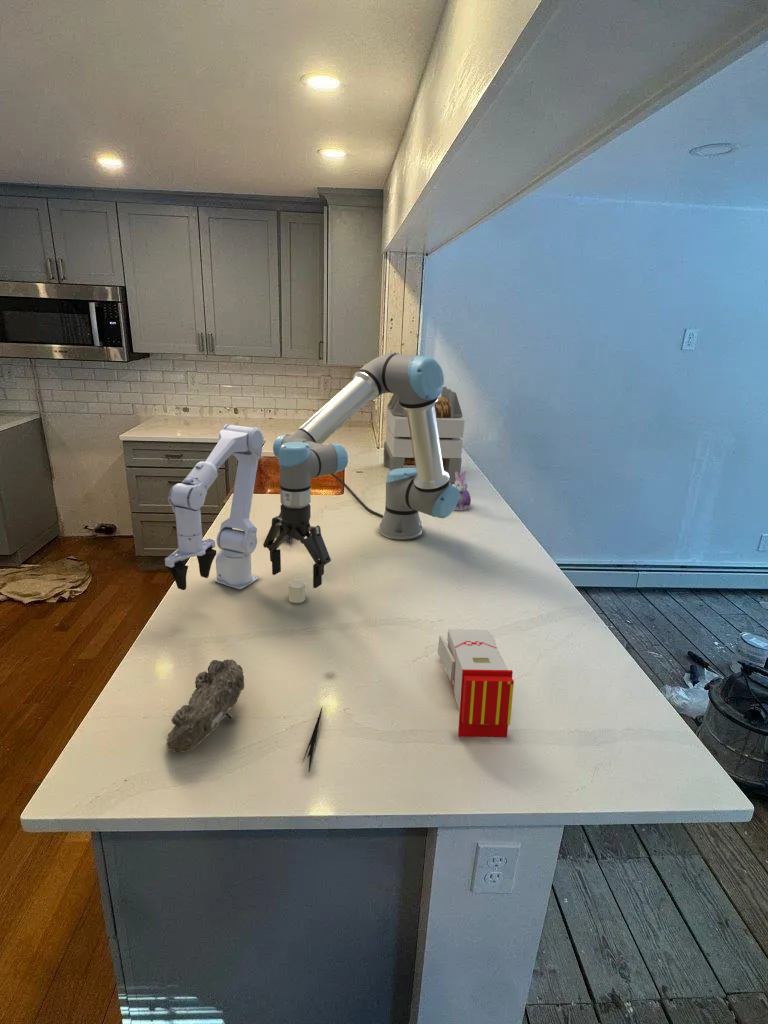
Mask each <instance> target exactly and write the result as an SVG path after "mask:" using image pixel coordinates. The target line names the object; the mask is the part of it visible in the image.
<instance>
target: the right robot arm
mask: <svg viewBox="0 0 768 1024" xmlns="http://www.w3.org/2000/svg"><path fill="white" fill-rule="evenodd" d="M444 385H445V374H444V371H443V368H442V366H441V364H440V363H439V362H438V361H437V360H436V359H434V358H432V357H428V356H425V355H423V354H421V355H419V354H418V355H413V354H405V353H398V352H388V353H385V354H381V355H380V356H378V357H376V358H373V359H372V360H371V361H369V362H368V363H366V364H364V365H363V366H362V367H361V368H359V370H357V371H356V372H355V373H354V374H353V375H352V380H351V381H350V382H349V383H348V384H346V385H345V386H344V387H343V388H342V389H341V390H340V391H339V392H337V394H335V396H333V397H332V398H331V399H330V400H329V401H327V402H326V403H325V405H323V406H322V407H321V408H320V409H319V410H317V412H315V413H314V414H313V415H312V416H311V417H310V418H308V419H307V420H306V421H305V422H304V423H303V424H302V425H301V426H300V427H299V428H297V429H296V430H295V431H294V432H293V433H291V434H289V433H288V434H280V435H278V437H276V438H275V440H274V442H273V445H272V452H273V454H274V457H275V458H276V459H277V460H278V467H279V469H278V470H279V495H280V497H279V498H280V512H281V516H280V515H279V514H278V515H276V516H274V517H272V518H271V526H270V528H269V530H268V533H267V535H266V537H265V538H264V539H265V540H264V541H263V543H262V546H263V548H264V549H265V548H266V549H268V551H269V561H270V562H271V574H272V575H273V576H275V575H277V574H279V573H281V572H282V561H281V554H282V553H281V549H280V546H281V545H282V544H283V543H284V542H285V540H287V539H286V538H287V537H288V536H289V538H291V539H294V540H295V541H299V542H300V543H301V544H302V545H303V546H304V547H305V549H306V551H307V552H308V554H309V555H310V557H311V558H312V560H313V562H314V564H312V588H314V589H317V588H318V587H320V586H322V584H323V575H325V565H327V564H330V562H332V559H331V556H330V554H329V551H328V549H327V546H326V542H325V540H324V539H323V536H322V530H321V526H320V525H315V526H312V525H311V524H310V520H311V513H312V512H311V511H312V510H311V509H312V507H311V504H310V503H311V502H312V501H311V497H312V495H311V484H312V483H311V481H312V480H311V479H315V478H319V477H323V476H328V475H331V476H332V477H333V478H335V479H336V480H337V481H339V482H340V483H341V484H342V485H343V486H344V488H346V490H348V491H349V492H350V494H351V495H352V496H353V497H354V498H355V499H356V500H357V501H358V502H359V503H360V504H361V506H363V507H364V509H365V510H367V511H368V512H370V514H374V515H376V516H378V517H380V518H381V522H379V527H378V533H379V534H380V535H381V536H382V537H385V538H387V539H389V540H395V541H410V540H415V539H418V538H420V537H421V536H422V535H423V525H422V520H421V518H420V515H419V513H422V514H425V515H428V516H431V517H433V518H438V519H445V518H448V517H450V515H452V514H453V512H454V511H455V510H454V509H455V507H456V505H457V503H458V499H459V489H458V487H456V486H455V485H454V484H452V483H450V478H449V474H448V473H447V472H446V471H444V469H443V462H442V456H441V449H440V442H439V435H438V428H437V421H436V414H435V407H434V404H435V403H436V402H437V401H438V397H440V396H441V392H442V390H443V387H444ZM389 393H390V394H398V398H399V404H400V406H401V407H402V408H404V409H406V414H407V419H408V425H409V431H410V436H411V442H412V448H413V453H414V459H415V465H416V466H415V467H404V468H398V469H394V470H391V471H390V470H388V472H387V475H386V480H385V504H384V505H385V507H384V508H385V509H384V513H383V514H381V513H379V512H377V511H374V510H373V509H371V508H370V507H368V506H367V505H366V504H365V503H364V502H363V501H362V500H361V499H360V498H359V497H358V496H357V494H356V493H354V491H353V490H352V489H351V488H350V487H349V486H348V485H347V484H346V483H345V482H344V481H343V480H342V479H341V478H339V477H338V476H337V475H336V473H339V472H342V471H344V470H345V469H346V468H347V466H348V463H349V455H348V451H347V449H346V448H345V447H344V445H342V444H340V443H329V444H324V443H325V442H326V441H327V440H328V439H329V438H330V437H332V435H333V434H335V433H336V432H337V431H338V430H339V429H340V428H341V427H342V426H343V425H344V424H345V423H346V422H347V421H349V420H350V419H352V417H353V416H354V415H355V414H357V413H358V412H359V410H361V408H363V407H364V406H365V405H366V404H367V403H368V402H369V401H373V400H374V401H375V400H376V399H378V397H380V396H381V395H383V394H389ZM281 525H282V527H283V528H284V530H283V531H282V532H281V533H280V535H279V537H278V538H275V537H276V535H277V533H278V531H279V528H280V526H281Z"/></svg>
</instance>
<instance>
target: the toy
mask: <svg viewBox="0 0 768 1024" xmlns="http://www.w3.org/2000/svg"><path fill="white" fill-rule="evenodd" d="M446 640H447V643H446V641H445V639H444V636H443V635H442V634H439V637H438V646H437V656H438V657H439V659H440V661H441V663H442V666H443V668H444V670H445V672H446V674H447V677H448V679H449V681H450V684H451V687H452V690H453V693H454V697H455V701H456V705H457V708H458V711H459V714H458V715H459V716H458V730H457V731H458V732H457V737H458V738H508V731H509V726H510V725H511V717H512V707H513V697H514V696H513V695H514V684H515V680H514V679H513V673H514V671H513V670H512V669H508V667H507V665H506V662H505V661H504V659H503V658H502V655H501V653H500V651H499V649H498V647H497V643H496V639H495V637H494V635H493V634H491V632H490V631H489V629H467V628H466V629H465V628H463V629H461V628H460V629H459V628H448V630H447V639H446Z"/></svg>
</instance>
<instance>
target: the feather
mask: <svg viewBox="0 0 768 1024" xmlns="http://www.w3.org/2000/svg"><path fill="white" fill-rule="evenodd" d="M329 675H330V676H331V675H332V674H331V673H330V674H329ZM322 710H323V707H321V708H320V710H319V713H318V716H317V719H316V723H315V725H314V728H313V731H312V733H311V737H310V739H309V742H308V745H307V748H306V751H305V754H304V757H303V760H302V763H301V767H302V765H303V763H304V761H305V758H308V759H309V760H308V762H307V763H308V764H307V766H308V771H310V770H311V766H312V765H311V764H312V760H313V757H315V756H314V755H315V751H316V749H315V746H317V739H318V733H319V729H320V722H321V717H322V712H323V711H322ZM313 754H314V755H313ZM306 755H307V757H306Z"/></svg>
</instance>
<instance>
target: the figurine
mask: <svg viewBox="0 0 768 1024" xmlns="http://www.w3.org/2000/svg"><path fill="white" fill-rule="evenodd" d="M466 475H467V471H466V470H464V471H462V473H461V474H460V475H459V473H458V472H457V471H456V472H455V478H456V481H455V483H453V485H455V486H456V487H458V489H459V499H458V503H457V505H456V507H455V509H454V511H466V510H468V509H470V507H471V502H472V498H471V494H470V492H469V491H468V490H467V489H468V487H469V485H468V482H467V480H466Z"/></svg>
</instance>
